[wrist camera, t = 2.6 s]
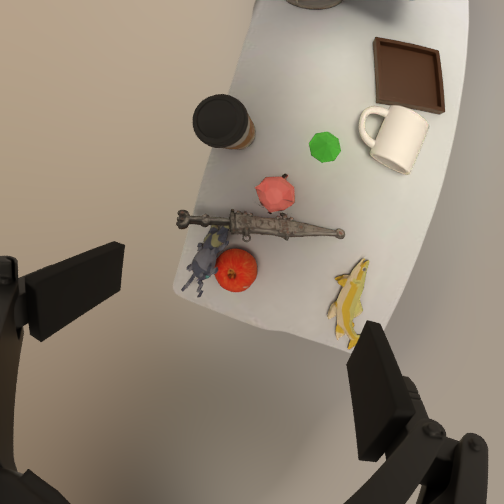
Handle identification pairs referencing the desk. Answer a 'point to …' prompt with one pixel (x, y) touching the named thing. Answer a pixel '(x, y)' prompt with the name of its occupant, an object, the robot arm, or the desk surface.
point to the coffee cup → (223, 123)
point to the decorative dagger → (258, 225)
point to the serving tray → (408, 76)
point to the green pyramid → (324, 147)
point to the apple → (235, 270)
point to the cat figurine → (275, 193)
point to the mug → (396, 137)
